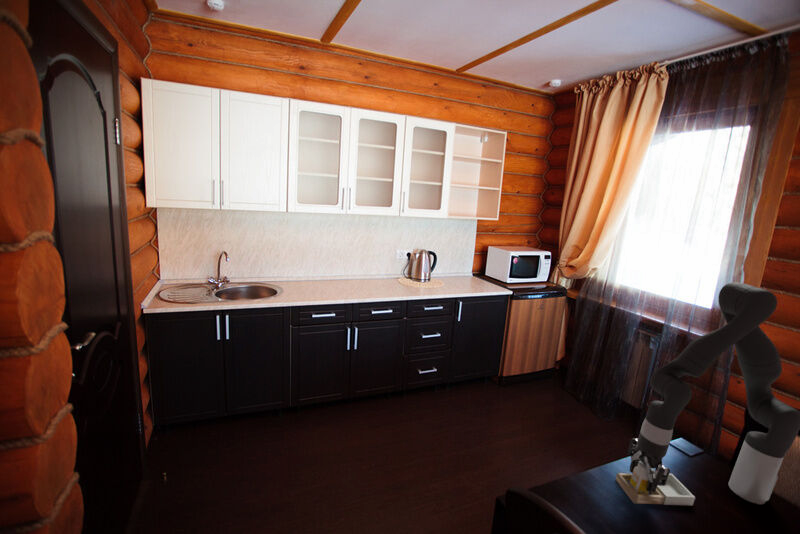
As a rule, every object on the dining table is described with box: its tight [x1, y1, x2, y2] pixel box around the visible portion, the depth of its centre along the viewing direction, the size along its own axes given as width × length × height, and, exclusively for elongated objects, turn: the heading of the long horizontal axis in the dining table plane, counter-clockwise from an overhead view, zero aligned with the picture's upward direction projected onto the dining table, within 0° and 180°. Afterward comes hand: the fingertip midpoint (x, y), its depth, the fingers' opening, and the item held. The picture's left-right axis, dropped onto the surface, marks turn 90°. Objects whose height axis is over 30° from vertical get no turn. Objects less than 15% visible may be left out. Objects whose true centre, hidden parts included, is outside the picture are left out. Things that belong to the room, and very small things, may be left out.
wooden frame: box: [615, 472, 664, 505], centre depth 118 cm, size 9×9×2 cm
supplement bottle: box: [628, 461, 655, 495], centre depth 117 cm, size 5×5×10 cm
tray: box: [653, 472, 696, 506], centre depth 119 cm, size 9×9×3 cm
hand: (641, 481), depth 117 cm, fingers open, 7 cm apart
